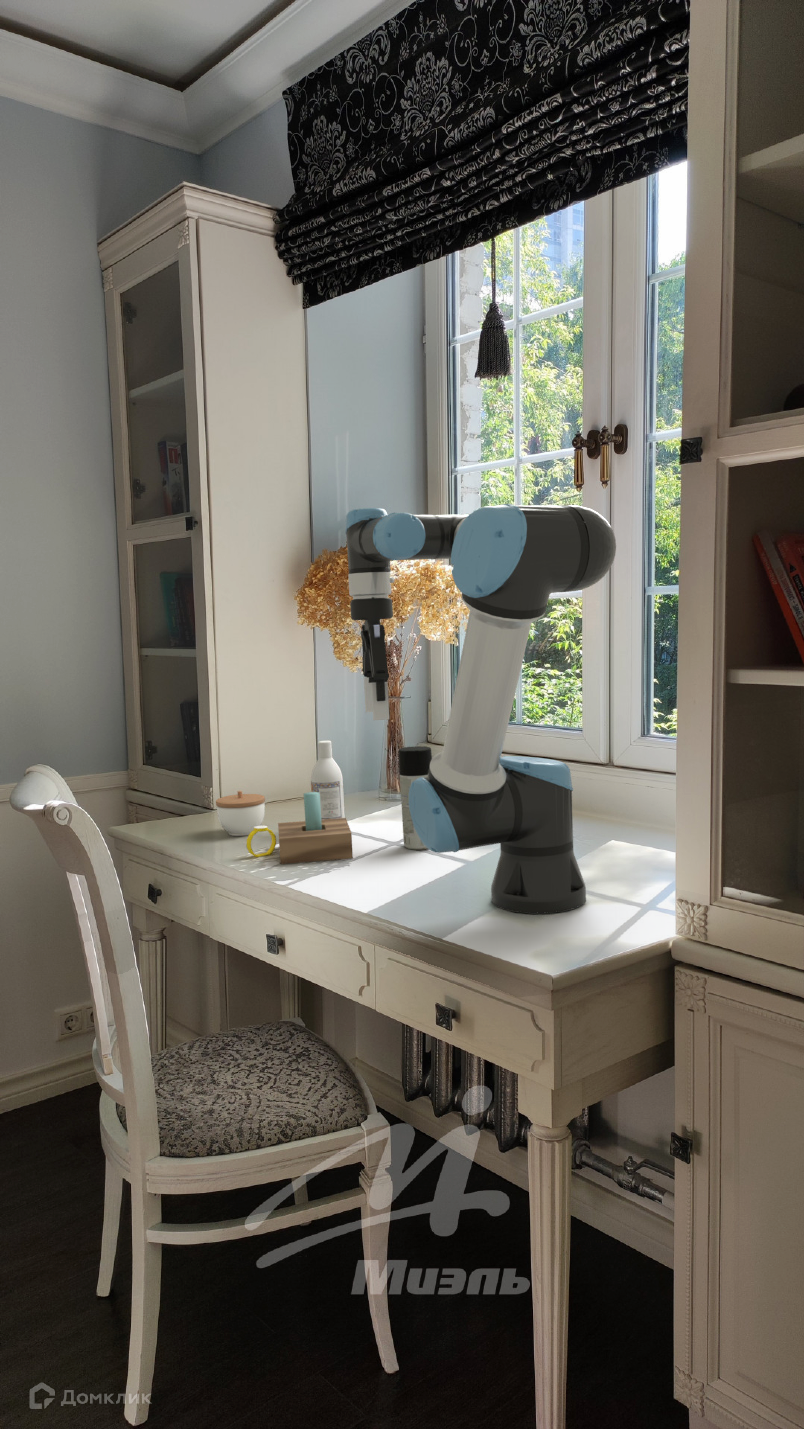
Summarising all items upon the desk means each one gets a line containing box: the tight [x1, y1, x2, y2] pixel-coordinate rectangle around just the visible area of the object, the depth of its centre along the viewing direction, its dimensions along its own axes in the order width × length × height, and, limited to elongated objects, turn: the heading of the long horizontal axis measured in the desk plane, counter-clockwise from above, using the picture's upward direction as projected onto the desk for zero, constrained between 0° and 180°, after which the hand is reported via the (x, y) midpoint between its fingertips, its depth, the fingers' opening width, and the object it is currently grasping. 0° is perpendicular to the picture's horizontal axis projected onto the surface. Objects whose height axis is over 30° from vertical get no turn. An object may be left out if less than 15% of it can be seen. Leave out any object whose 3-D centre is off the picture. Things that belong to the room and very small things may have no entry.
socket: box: [277, 817, 354, 865], centre depth 194 cm, size 14×14×5 cm
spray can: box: [398, 745, 433, 851], centre depth 194 cm, size 7×7×20 cm
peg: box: [303, 791, 322, 831], centre depth 193 cm, size 3×3×12 cm
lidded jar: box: [215, 790, 266, 837], centre depth 214 cm, size 11×11×9 cm
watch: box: [246, 825, 277, 858], centre depth 194 cm, size 6×3×6 cm, turn 125°
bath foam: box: [310, 740, 346, 820], centre depth 210 cm, size 7×7×20 cm
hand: (377, 715), depth 175 cm, fingers open, 13 cm apart
